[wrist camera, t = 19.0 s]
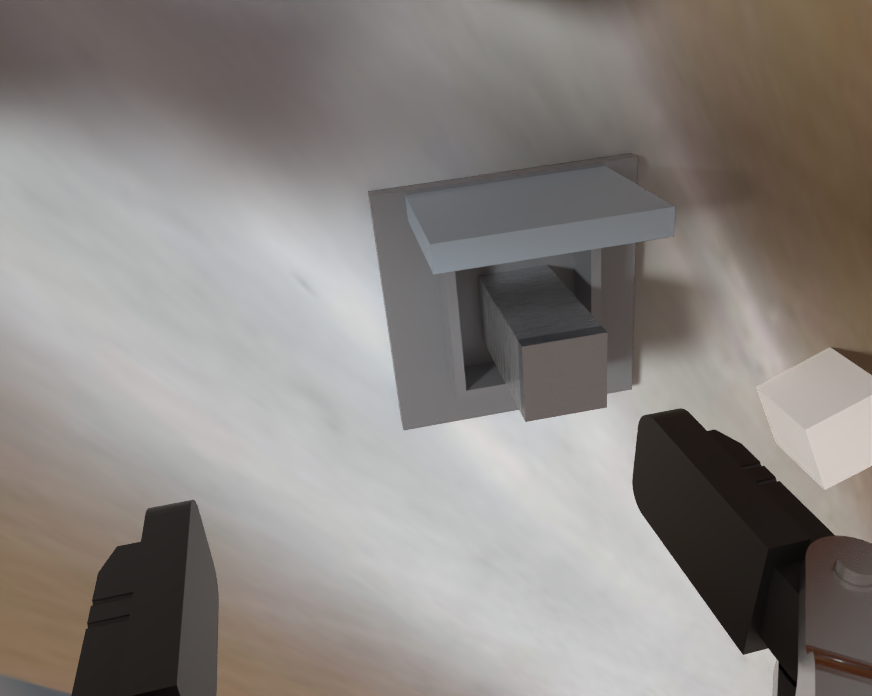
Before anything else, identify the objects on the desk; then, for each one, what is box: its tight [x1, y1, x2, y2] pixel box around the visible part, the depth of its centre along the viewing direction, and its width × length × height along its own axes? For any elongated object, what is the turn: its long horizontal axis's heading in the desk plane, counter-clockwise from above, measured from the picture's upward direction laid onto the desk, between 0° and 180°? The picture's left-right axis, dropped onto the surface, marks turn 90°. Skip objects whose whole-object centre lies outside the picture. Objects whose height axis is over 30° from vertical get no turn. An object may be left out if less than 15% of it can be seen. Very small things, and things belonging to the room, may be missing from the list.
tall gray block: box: [478, 265, 608, 422], centre depth 41 cm, size 4×4×10 cm
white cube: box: [756, 347, 872, 490], centre depth 52 cm, size 6×6×6 cm
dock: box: [368, 154, 675, 430], centre depth 42 cm, size 16×16×10 cm
